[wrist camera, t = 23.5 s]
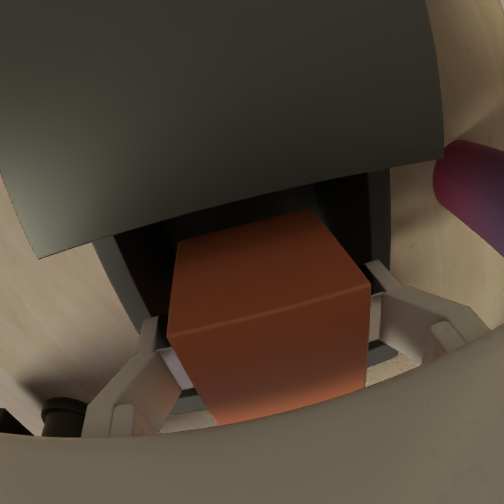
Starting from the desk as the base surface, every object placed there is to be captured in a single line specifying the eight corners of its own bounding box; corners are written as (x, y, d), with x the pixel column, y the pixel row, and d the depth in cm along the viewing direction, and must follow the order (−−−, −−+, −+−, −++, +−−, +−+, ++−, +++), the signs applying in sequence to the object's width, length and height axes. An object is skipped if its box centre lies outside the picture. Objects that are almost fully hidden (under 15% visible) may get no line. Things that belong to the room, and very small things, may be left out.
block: (311, 206, 10) (372, 283, 6) (323, 309, 12) (364, 397, 8) (177, 240, 10) (164, 336, 6) (214, 337, 12) (222, 434, 8)
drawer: (345, 324, 21) (387, 407, 15) (200, 361, 21) (204, 454, 15) (310, 36, 12) (390, 4, 6) (96, 88, 12) (14, 94, 6)
